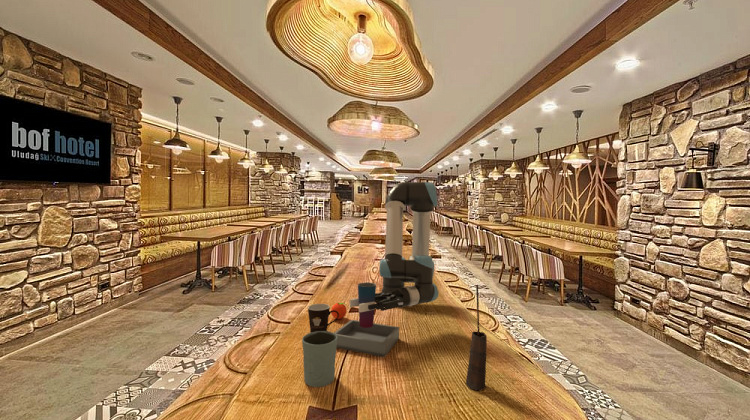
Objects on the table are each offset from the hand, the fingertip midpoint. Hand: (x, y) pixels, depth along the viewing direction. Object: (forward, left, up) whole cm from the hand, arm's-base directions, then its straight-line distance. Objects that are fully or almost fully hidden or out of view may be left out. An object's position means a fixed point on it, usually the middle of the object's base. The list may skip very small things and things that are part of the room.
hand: (354, 305), depth 112 cm
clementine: (-23, -18, -15) cm, 33 cm away
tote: (-4, +3, -15) cm, 15 cm away
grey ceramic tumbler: (+23, 0, -15) cm, 27 cm away
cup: (-4, +3, -8) cm, 10 cm away
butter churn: (+10, +43, -15) cm, 46 cm away
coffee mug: (-6, -17, -15) cm, 23 cm away
